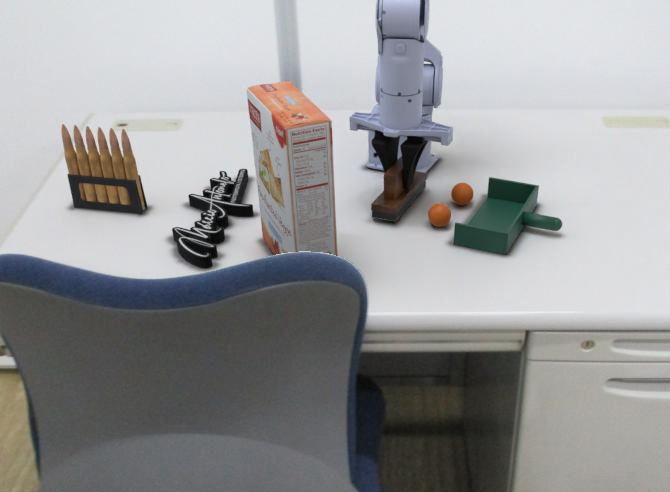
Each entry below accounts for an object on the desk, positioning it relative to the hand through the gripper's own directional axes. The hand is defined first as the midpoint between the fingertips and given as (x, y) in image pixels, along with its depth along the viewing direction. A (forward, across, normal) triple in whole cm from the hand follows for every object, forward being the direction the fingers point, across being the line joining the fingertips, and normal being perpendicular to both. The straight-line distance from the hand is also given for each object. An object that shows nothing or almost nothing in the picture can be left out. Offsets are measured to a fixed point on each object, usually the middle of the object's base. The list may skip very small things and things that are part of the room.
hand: (399, 185), depth 119 cm
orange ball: (+2, +8, +4) cm, 9 cm away
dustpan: (+3, +17, 0) cm, 18 cm away
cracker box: (+3, -6, -20) cm, 21 cm away
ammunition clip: (+3, -38, -17) cm, 42 cm away
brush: (+3, 0, 0) cm, 3 cm away
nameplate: (+3, -22, -14) cm, 26 cm away
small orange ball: (+2, +7, -4) cm, 8 cm away
